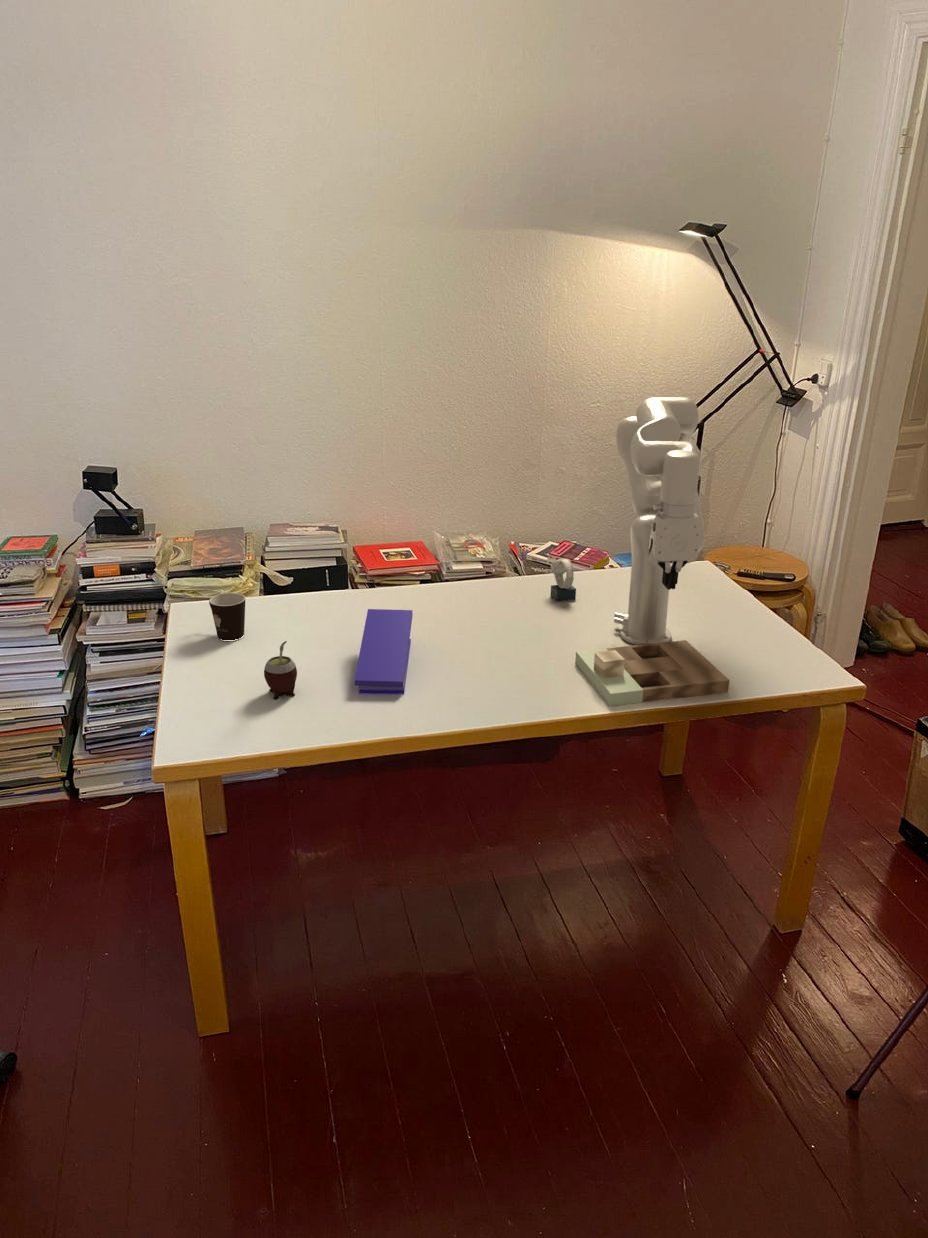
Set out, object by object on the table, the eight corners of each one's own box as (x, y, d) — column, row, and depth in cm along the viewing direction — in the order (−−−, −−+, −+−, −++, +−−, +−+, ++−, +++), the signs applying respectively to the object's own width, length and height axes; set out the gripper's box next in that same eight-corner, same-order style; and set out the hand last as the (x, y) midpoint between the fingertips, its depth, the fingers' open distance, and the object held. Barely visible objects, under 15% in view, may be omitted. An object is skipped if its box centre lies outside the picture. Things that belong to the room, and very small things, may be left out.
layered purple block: (413, 643, 246) (412, 606, 242) (406, 696, 220) (406, 656, 216) (366, 643, 246) (365, 606, 242) (354, 696, 220) (353, 655, 216)
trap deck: (642, 702, 217) (643, 690, 216) (605, 659, 237) (605, 648, 236) (728, 692, 222) (729, 680, 221) (684, 651, 242) (685, 640, 240)
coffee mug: (251, 640, 246) (248, 603, 242) (216, 645, 243) (212, 607, 239) (243, 623, 256) (239, 586, 252) (208, 627, 253) (205, 591, 249)
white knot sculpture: (565, 591, 277) (567, 554, 273) (578, 601, 270) (580, 563, 266) (547, 593, 276) (548, 556, 271) (559, 604, 269) (561, 565, 264)
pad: (609, 706, 216) (610, 693, 214) (575, 662, 235) (575, 651, 234) (642, 702, 217) (643, 690, 216) (605, 659, 237) (605, 648, 236)
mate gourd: (276, 684, 224) (271, 622, 218) (307, 690, 222) (303, 628, 216) (258, 698, 218) (253, 635, 212) (290, 705, 215) (285, 641, 209)
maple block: (602, 678, 221) (603, 662, 220) (593, 668, 226) (594, 652, 224) (623, 675, 223) (624, 659, 221) (613, 666, 227) (615, 650, 225)
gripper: (650, 516, 210) (642, 596, 217) (716, 512, 212) (707, 591, 220) (638, 504, 216) (631, 582, 224) (703, 501, 219) (694, 578, 227)
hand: (669, 586), depth 222 cm, fingers closed
